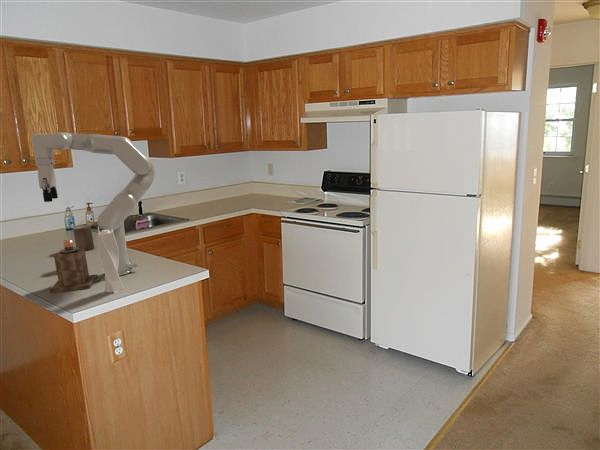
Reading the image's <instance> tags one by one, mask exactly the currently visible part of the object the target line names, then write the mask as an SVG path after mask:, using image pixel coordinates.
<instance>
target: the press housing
mask: <svg viewBox="0 0 600 450" xmlns="http://www.w3.org/2000/svg"><path fill="white" fill-rule="evenodd" d="M61 250H62V249H60V250H59V251H58V252H57V253H56V254H54V255H53V258H54V259H53V260H54V264H55V270H56V276H57V281H56V283H54V285H53V286H52V287H51V288H50V289H49V291H50V293H58V292H60V293H61V292H67V291H70V292H71V291H77V290H86V289H87V290H88V289H91V288H92V286H93V285H94V283H95V282H96V280H97V279H98V278H99V277H98V274H96V273H95V274H89V268H88V261H87V255H86V251H85V248H78V251H76V252H72V253H61Z"/></svg>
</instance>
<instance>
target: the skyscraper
mask: <svg viewBox="0 0 600 450" xmlns="http://www.w3.org/2000/svg"><path fill="white" fill-rule="evenodd" d="M111 230H112V231H109V230H102V229H101V231H100V227H99V226H97V232H98V233H97V235H98V236H97V238H98V240H97V246H98V247H97V248H98V256H99V260H100V264H101V267H102V270H103V272H104V276H105V277H104V293H112V292H113V294H116V293H117V292H119V291H122V290H125V289H124V285H123V282H122V280H121V278H120V276H119V274H118V265H119V252H118V246H117V243H116V239H115V236H114V233H113V229H111Z"/></svg>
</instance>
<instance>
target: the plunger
mask: <svg viewBox="0 0 600 450" xmlns="http://www.w3.org/2000/svg"><path fill="white" fill-rule="evenodd" d="M62 242H63V243H62V244H63V249H60V250H61V253H72V252H76V251H78V248H77V247H76V246H74V243H73V239H65V240H63V241H62Z"/></svg>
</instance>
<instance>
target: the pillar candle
mask: <svg viewBox="0 0 600 450" xmlns="http://www.w3.org/2000/svg"><path fill="white" fill-rule="evenodd" d="M72 231H73V238H74V245H75V247H77V248H85V252H86V251H91V250H93V249H95V244H94V236H93V230H92V226H91V224H81V225H77V226H74V227H72Z"/></svg>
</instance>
